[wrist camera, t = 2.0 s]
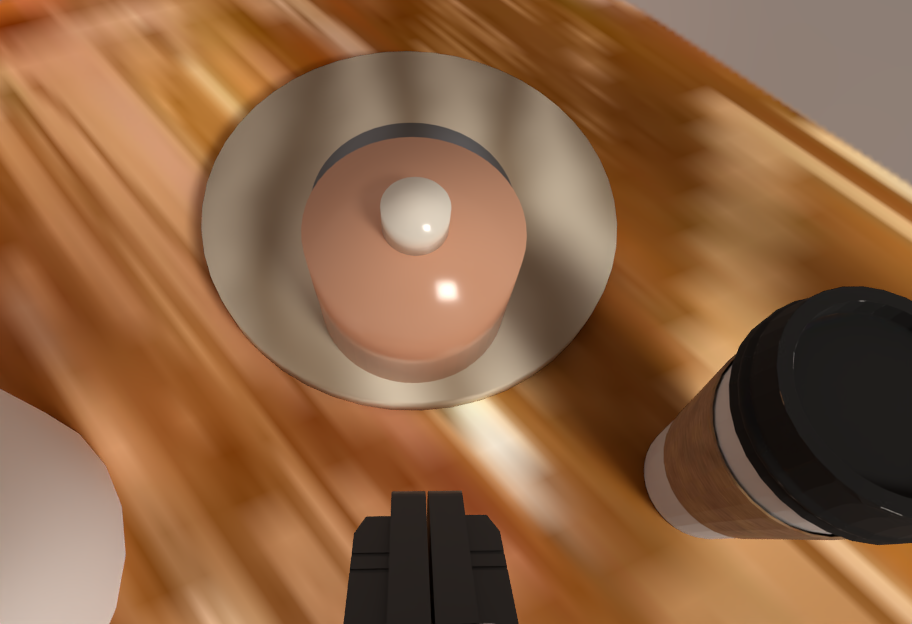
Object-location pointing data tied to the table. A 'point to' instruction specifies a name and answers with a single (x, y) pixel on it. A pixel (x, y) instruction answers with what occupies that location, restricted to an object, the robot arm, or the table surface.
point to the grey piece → (55, 523)
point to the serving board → (395, 116)
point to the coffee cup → (799, 429)
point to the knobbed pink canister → (413, 256)
